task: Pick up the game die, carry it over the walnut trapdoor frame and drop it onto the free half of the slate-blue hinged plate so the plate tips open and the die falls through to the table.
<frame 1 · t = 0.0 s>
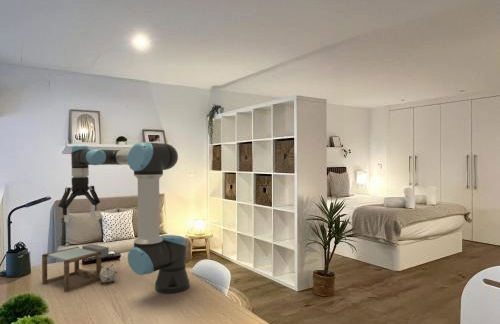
hand: (80, 219, 165), 28 cm above the table, fingers open, 13 cm apart
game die: (107, 283, 156), on the table
frame: (72, 281, 157), on the table
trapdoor: (79, 254, 161), point 12 cm above the table, hinge at 0.0°
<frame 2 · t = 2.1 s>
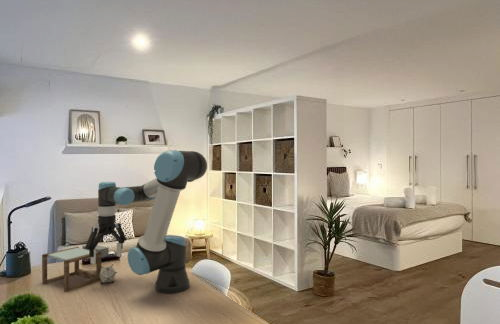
hand: (106, 260, 157), 11 cm above the table, fingers open, 13 cm apart
nothing on the table moved.
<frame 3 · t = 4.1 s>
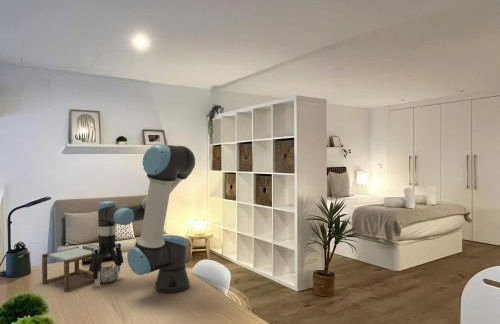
hand: (107, 282, 156), 0 cm above the table, fingers open, 9 cm apart
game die: (107, 283, 156), on the table, touching gripper
everything else where it was.
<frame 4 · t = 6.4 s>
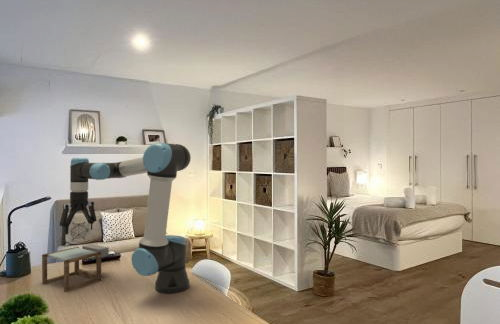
hand: (78, 239, 156), 21 cm above the table, fingers closed on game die, 9 cm apart
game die: (78, 239, 156), point 20 cm above the table, touching gripper
everything else where it was.
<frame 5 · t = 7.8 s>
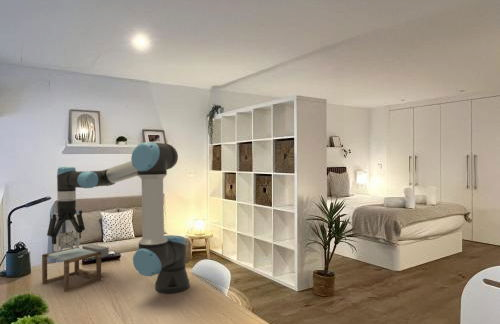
hand: (66, 248, 155), 16 cm above the table, fingers closed on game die, 9 cm apart
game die: (66, 249, 155), point 16 cm above the table, touching gripper
everything else where it was.
when the fingers open (16 cm above the table, at t = 7.9 s): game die drops 7 cm, point 9 cm above the table.
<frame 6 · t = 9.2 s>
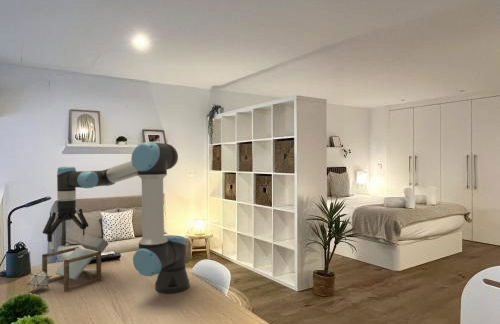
hand: (66, 245, 155), 18 cm above the table, fingers open, 13 cm apart
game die: (36, 271, 146), point 9 cm above the table
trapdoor: (82, 257, 162), point 10 cm above the table, hinge at -41.6°
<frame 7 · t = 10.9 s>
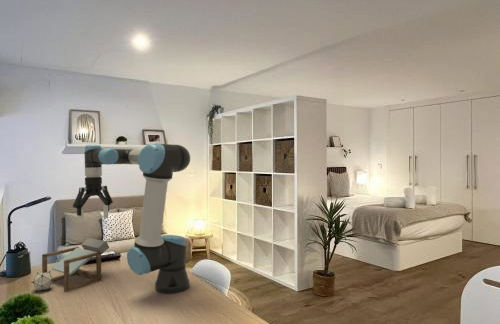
hand: (93, 220, 163), 28 cm above the table, fingers open, 13 cm apart
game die: (43, 271, 147), point 8 cm above the table
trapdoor: (81, 257, 161), point 11 cm above the table, hinge at -28.0°
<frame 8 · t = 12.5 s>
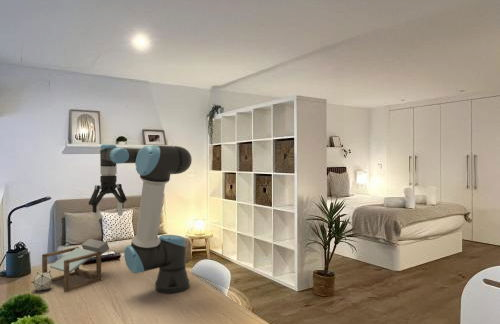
hand: (108, 217, 168), 29 cm above the table, fingers open, 13 cm apart
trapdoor: (80, 256, 161), point 11 cm above the table, hinge at -22.9°
everything else where it was.
at the end: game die point 8.1 cm above the table; the gripper is holding nothing; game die moved 27.3 cm from its start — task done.
